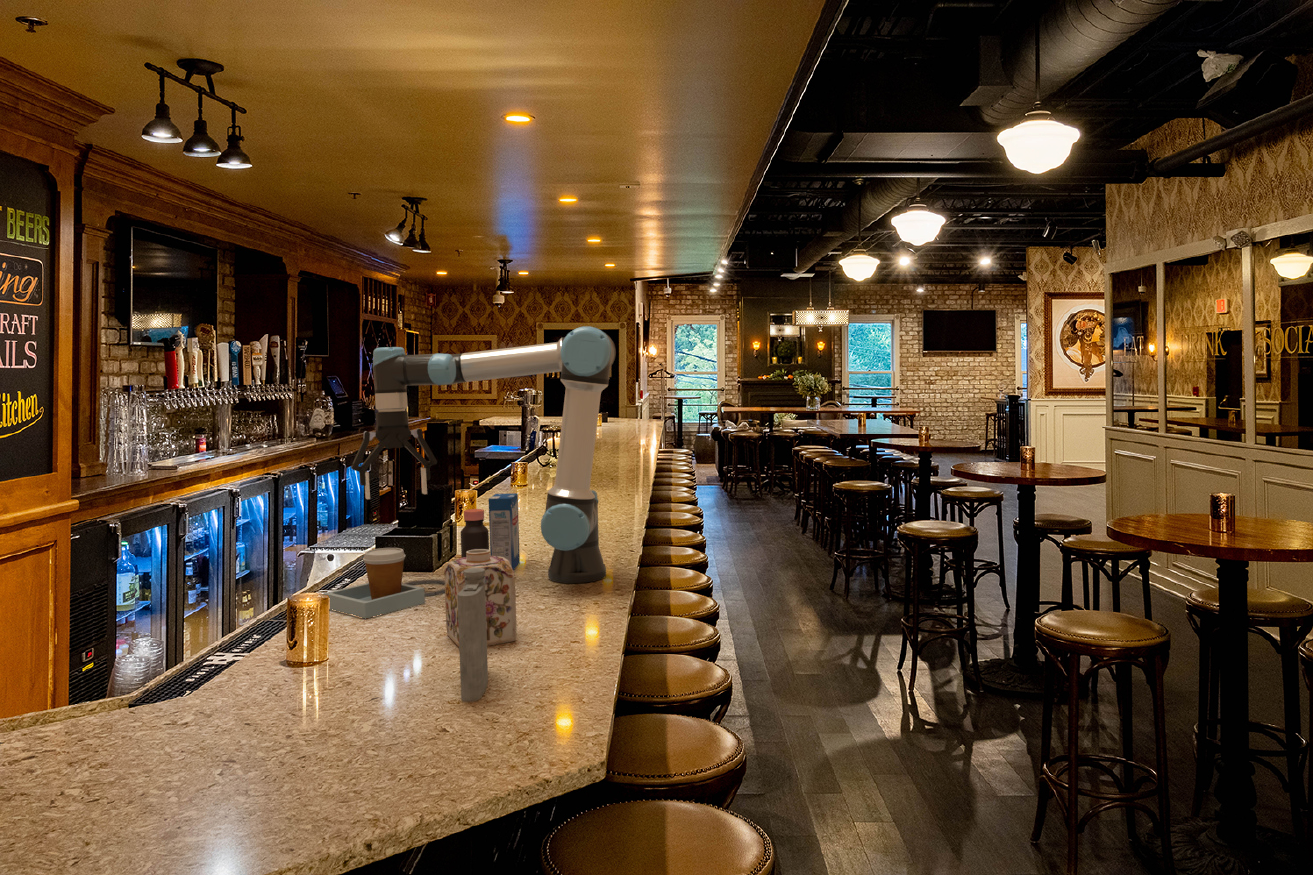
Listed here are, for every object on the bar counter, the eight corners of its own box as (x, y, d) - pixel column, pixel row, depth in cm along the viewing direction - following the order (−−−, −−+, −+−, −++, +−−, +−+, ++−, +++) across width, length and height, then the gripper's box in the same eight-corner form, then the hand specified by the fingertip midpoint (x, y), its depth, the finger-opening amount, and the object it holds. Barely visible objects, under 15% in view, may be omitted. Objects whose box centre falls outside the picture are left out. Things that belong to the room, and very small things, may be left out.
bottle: (457, 592, 208) (454, 511, 206) (472, 585, 214) (470, 507, 213) (480, 594, 205) (477, 513, 204) (495, 587, 212) (493, 508, 210)
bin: (424, 603, 198) (424, 587, 198) (365, 619, 186) (364, 603, 185) (383, 593, 208) (382, 579, 208) (324, 608, 195) (323, 593, 195)
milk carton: (513, 570, 230) (511, 498, 229) (490, 571, 230) (488, 498, 229) (519, 562, 240) (517, 493, 239) (498, 563, 240) (495, 493, 239)
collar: (464, 587, 213) (464, 584, 213) (417, 600, 201) (417, 596, 201) (427, 579, 222) (427, 576, 221) (380, 591, 210) (380, 588, 210)
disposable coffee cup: (410, 604, 195) (408, 552, 195) (367, 609, 191) (364, 557, 191) (404, 594, 204) (402, 545, 203) (362, 599, 200) (360, 549, 199)
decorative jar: (459, 651, 163) (456, 559, 161) (445, 635, 173) (441, 548, 172) (519, 641, 168) (516, 552, 167) (501, 626, 178) (498, 542, 177)
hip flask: (468, 669, 152) (464, 559, 151) (491, 667, 153) (487, 558, 151) (460, 702, 137) (455, 580, 135) (485, 700, 137) (481, 579, 136)
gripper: (439, 407, 216) (444, 490, 218) (336, 412, 205) (341, 498, 207) (446, 408, 209) (450, 493, 211) (339, 413, 199) (344, 502, 200)
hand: (396, 496), depth 209 cm, fingers open, 13 cm apart
